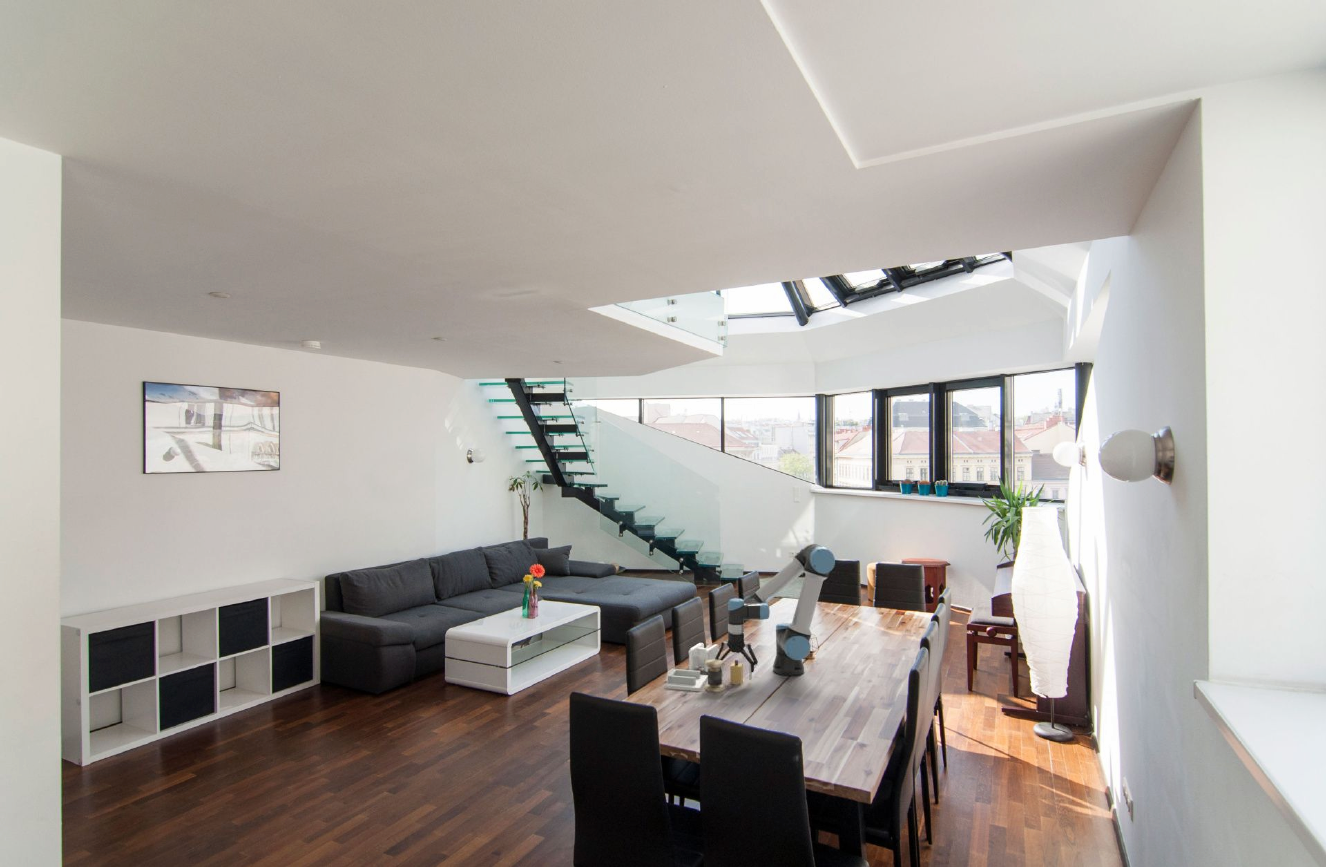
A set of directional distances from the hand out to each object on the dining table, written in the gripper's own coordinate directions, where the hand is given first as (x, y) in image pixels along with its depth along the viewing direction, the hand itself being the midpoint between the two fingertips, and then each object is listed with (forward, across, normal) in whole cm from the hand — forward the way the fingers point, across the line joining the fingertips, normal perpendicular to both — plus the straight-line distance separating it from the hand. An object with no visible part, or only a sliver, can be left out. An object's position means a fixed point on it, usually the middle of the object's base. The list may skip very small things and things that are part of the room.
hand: (736, 677), depth 315 cm
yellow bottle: (+2, 0, 0) cm, 2 cm away
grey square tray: (+2, +22, +8) cm, 23 cm away
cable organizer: (+2, +19, -14) cm, 24 cm away
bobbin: (+2, +8, +12) cm, 14 cm away
